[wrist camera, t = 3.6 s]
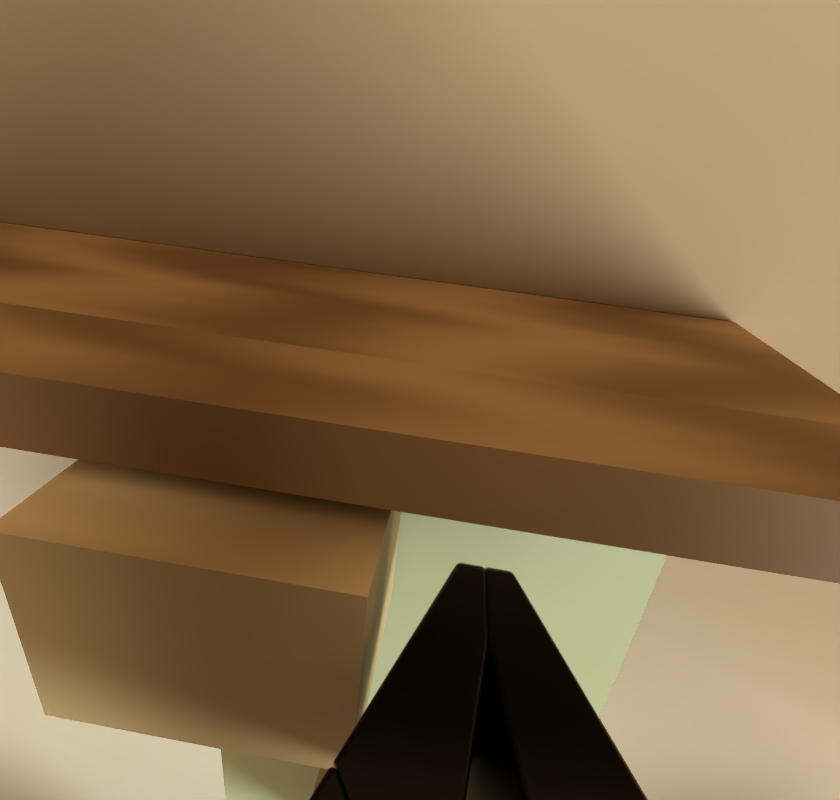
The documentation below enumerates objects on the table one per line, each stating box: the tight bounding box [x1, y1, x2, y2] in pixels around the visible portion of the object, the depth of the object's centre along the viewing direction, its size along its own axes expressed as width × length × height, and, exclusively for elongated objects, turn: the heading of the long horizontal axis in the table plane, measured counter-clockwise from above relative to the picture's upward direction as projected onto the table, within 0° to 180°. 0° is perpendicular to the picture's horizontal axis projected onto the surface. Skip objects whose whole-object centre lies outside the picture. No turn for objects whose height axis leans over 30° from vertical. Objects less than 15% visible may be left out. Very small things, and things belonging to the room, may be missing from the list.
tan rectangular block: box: [0, 459, 401, 769], centre depth 7 cm, size 4×3×3 cm
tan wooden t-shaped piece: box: [0, 222, 840, 583], centre depth 12 cm, size 18×16×7 cm
